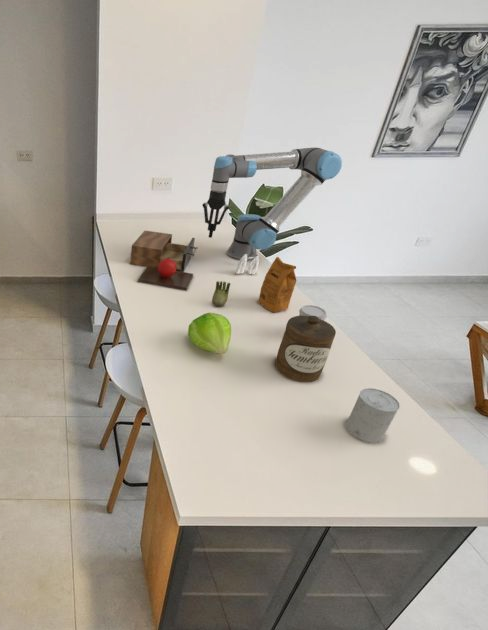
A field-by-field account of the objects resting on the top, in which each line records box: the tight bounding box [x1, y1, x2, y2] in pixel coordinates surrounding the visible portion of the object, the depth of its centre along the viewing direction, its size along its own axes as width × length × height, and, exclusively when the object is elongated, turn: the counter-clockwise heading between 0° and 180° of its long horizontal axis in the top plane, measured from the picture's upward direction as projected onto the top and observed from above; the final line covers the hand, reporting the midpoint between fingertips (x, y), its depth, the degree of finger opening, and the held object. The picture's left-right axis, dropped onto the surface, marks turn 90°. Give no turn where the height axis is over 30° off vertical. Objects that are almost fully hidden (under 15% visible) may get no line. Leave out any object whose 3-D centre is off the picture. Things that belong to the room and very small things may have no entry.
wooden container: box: [274, 315, 336, 383], centre depth 145 cm, size 15×15×22 cm
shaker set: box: [235, 254, 260, 276], centre depth 214 cm, size 12×4×11 cm, turn 97°
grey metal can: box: [345, 387, 401, 444], centre depth 122 cm, size 10×10×12 cm
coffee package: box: [257, 256, 297, 313], centre depth 183 cm, size 10×12×22 cm
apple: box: [158, 257, 177, 278], centre depth 210 cm, size 9×9×10 cm
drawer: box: [161, 237, 199, 272], centre depth 228 cm, size 20×25×10 cm
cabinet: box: [130, 230, 173, 268], centre depth 233 cm, size 16×25×11 cm, turn 155°
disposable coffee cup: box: [298, 304, 328, 321], centre depth 165 cm, size 10×10×12 cm
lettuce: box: [187, 312, 232, 356], centre depth 159 cm, size 15×20×14 cm
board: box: [137, 266, 194, 292], centre depth 213 cm, size 24×17×2 cm
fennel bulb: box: [211, 280, 231, 308], centre depth 187 cm, size 6×5×12 cm
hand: (210, 236), depth 217 cm, fingers closed
